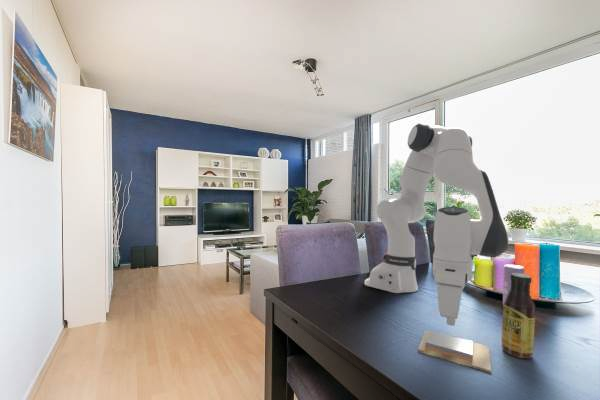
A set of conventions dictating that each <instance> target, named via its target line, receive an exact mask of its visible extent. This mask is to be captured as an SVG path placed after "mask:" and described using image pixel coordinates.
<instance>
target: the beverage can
mask: <svg viewBox="0 0 600 400" xmlns="http://www.w3.org/2000/svg"><path fill="white" fill-rule="evenodd" d="M502 270H503V272H502V273H503V274H502V276H503V279H502V280H503V281H502V287H503V288H502V289H503V290H502V293H503V294H502V305H503V306H504V302H505V300H506V298H507V296H508V294H509V292H510V289H511V279H510V277H511V273H520V274H525V272H526V271H525V267H524V266H522V265H517V264H509V263H506V264H504V265H503V269H502ZM525 275H526V274H525Z"/></svg>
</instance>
